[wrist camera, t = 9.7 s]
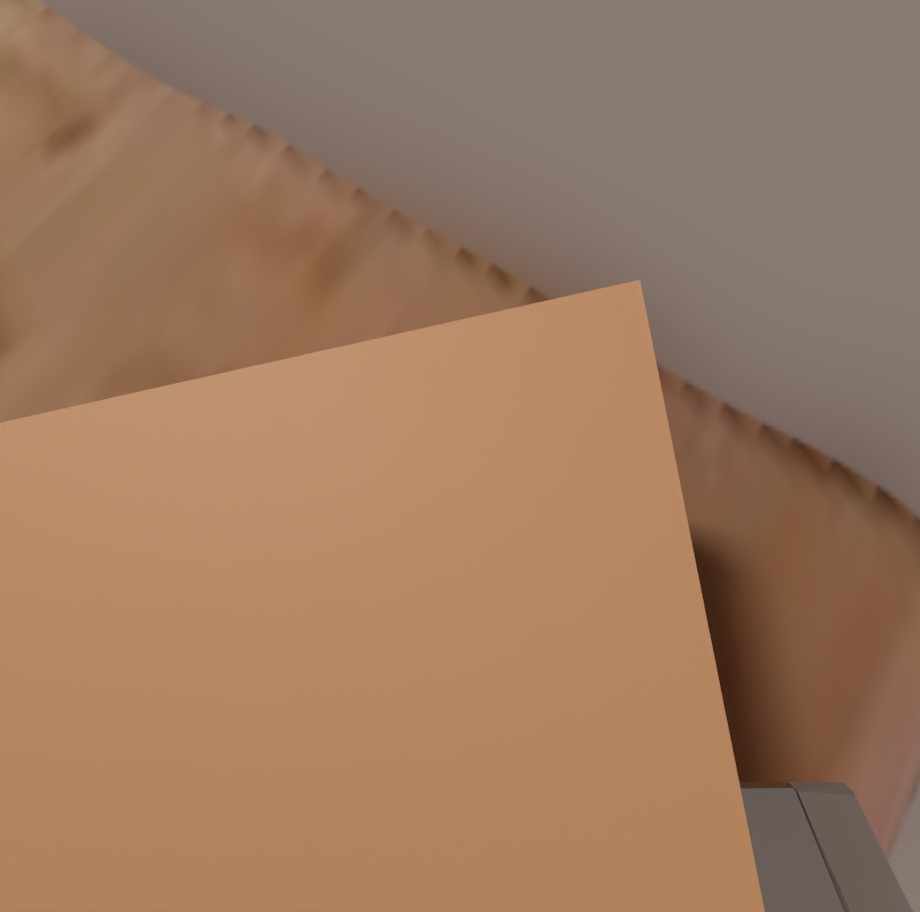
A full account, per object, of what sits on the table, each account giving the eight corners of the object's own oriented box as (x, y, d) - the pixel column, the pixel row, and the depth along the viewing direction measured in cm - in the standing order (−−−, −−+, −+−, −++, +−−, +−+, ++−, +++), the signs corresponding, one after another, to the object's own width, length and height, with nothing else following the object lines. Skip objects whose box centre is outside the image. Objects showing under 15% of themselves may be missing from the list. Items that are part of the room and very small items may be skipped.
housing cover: (75, 1281, 7) (-532, 1799, 3) (110, 580, 8) (-252, 480, 5) (828, 1310, 5) (1013, 2163, 2) (668, 486, 7) (641, 281, 4)
